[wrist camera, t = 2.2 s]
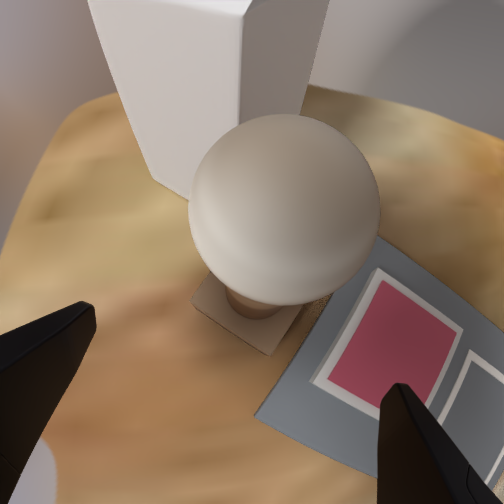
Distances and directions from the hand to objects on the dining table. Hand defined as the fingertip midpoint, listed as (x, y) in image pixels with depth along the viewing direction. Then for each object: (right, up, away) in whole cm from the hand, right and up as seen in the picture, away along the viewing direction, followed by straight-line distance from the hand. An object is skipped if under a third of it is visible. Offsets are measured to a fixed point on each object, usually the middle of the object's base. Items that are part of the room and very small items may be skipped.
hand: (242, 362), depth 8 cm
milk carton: (-2, +9, +14) cm, 17 cm away
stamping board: (+14, -7, +9) cm, 18 cm away
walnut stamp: (0, 0, +11) cm, 11 cm away
